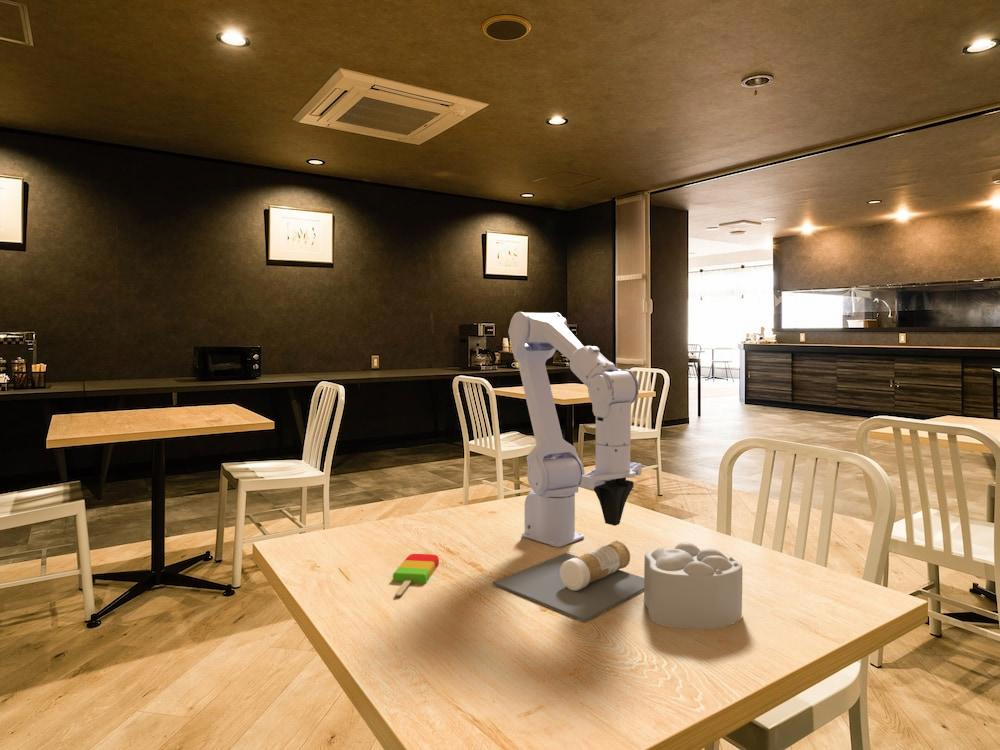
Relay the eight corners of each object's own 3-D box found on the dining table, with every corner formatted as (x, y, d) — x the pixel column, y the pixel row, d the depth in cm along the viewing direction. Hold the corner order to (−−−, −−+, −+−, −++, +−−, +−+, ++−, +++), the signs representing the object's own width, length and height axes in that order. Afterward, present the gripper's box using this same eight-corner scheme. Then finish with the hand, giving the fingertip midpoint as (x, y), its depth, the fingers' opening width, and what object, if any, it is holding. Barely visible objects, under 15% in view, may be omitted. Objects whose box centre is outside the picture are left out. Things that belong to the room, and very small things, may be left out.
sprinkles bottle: (616, 571, 103) (566, 595, 93) (603, 545, 105) (554, 566, 95) (636, 562, 100) (587, 586, 91) (623, 536, 102) (574, 556, 92)
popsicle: (440, 564, 106) (440, 554, 106) (415, 602, 91) (415, 590, 91) (409, 562, 107) (409, 552, 107) (379, 599, 92) (379, 587, 92)
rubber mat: (492, 584, 96) (492, 581, 96) (566, 555, 109) (566, 552, 109) (584, 622, 84) (584, 619, 84) (655, 584, 96) (655, 581, 96)
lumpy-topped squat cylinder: (641, 594, 93) (641, 538, 92) (729, 597, 92) (731, 540, 91) (652, 627, 82) (653, 564, 82) (752, 630, 81) (754, 566, 81)
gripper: (607, 452, 94) (606, 539, 95) (657, 440, 104) (656, 519, 105) (570, 446, 99) (570, 529, 100) (622, 435, 109) (621, 510, 110)
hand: (612, 523), depth 103 cm, fingers closed
